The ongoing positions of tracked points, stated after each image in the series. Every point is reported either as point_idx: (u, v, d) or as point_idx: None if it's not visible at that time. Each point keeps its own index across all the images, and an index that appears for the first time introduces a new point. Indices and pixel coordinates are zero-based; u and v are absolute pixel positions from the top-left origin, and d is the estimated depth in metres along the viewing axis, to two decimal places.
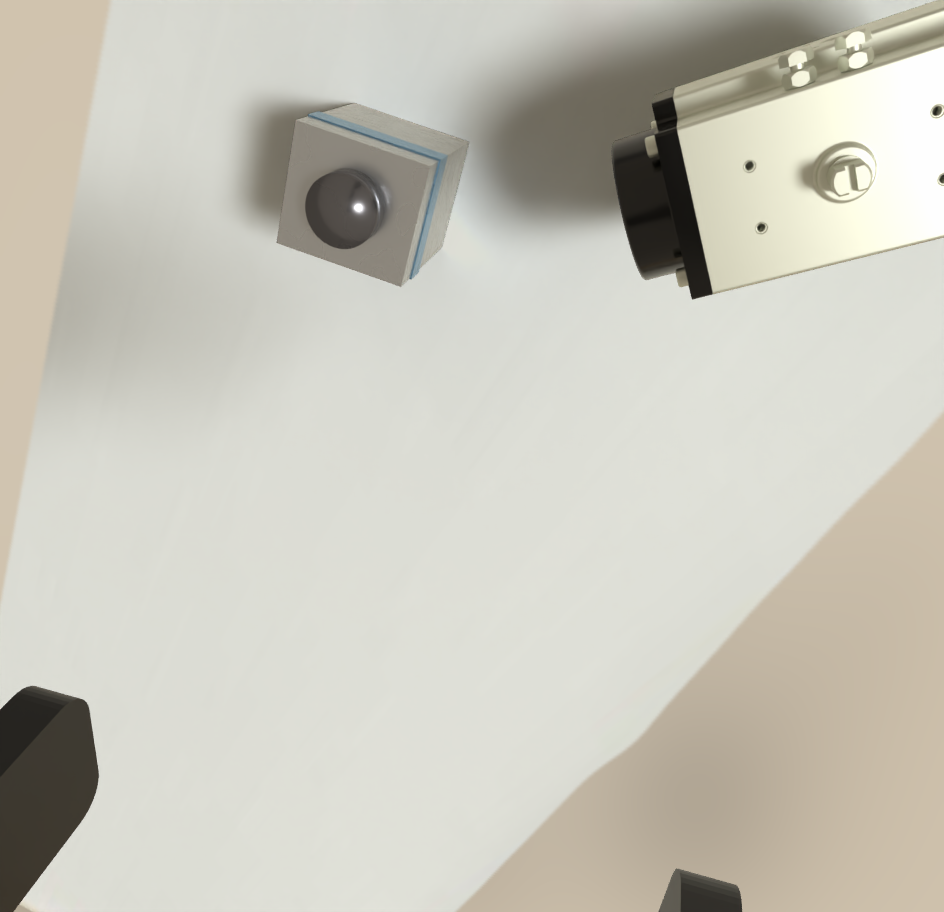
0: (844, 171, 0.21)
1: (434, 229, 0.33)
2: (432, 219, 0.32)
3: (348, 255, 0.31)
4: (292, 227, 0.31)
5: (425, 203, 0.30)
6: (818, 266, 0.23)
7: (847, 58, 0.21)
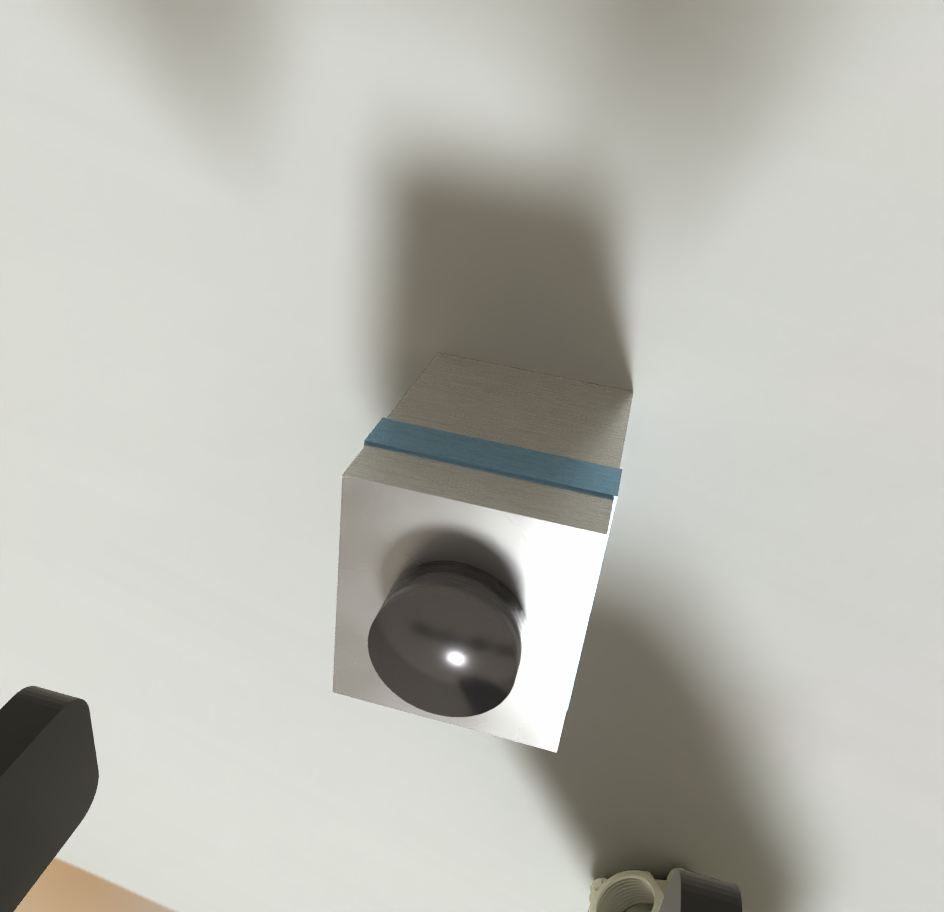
0: None
1: None
2: None
3: (361, 611, 0.15)
4: (384, 510, 0.14)
5: None
6: None
7: None
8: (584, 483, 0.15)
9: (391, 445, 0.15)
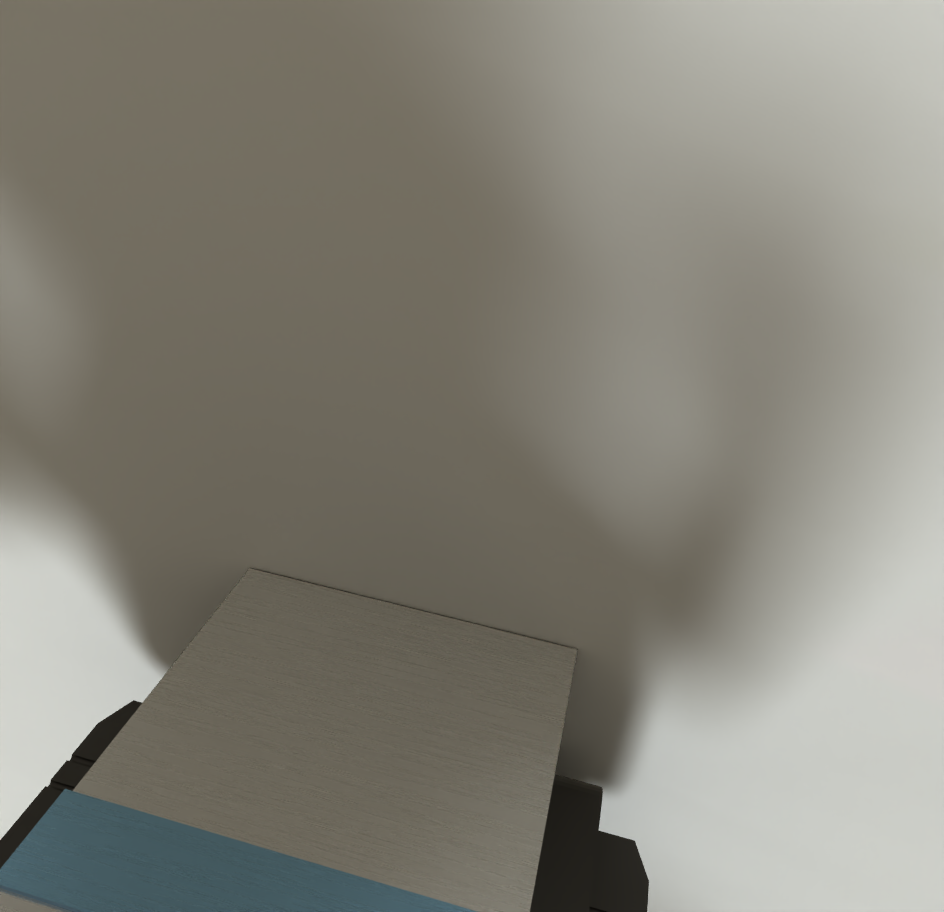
0: None
1: None
2: None
3: None
4: None
5: None
6: None
7: None
8: None
9: (46, 892, 0.07)
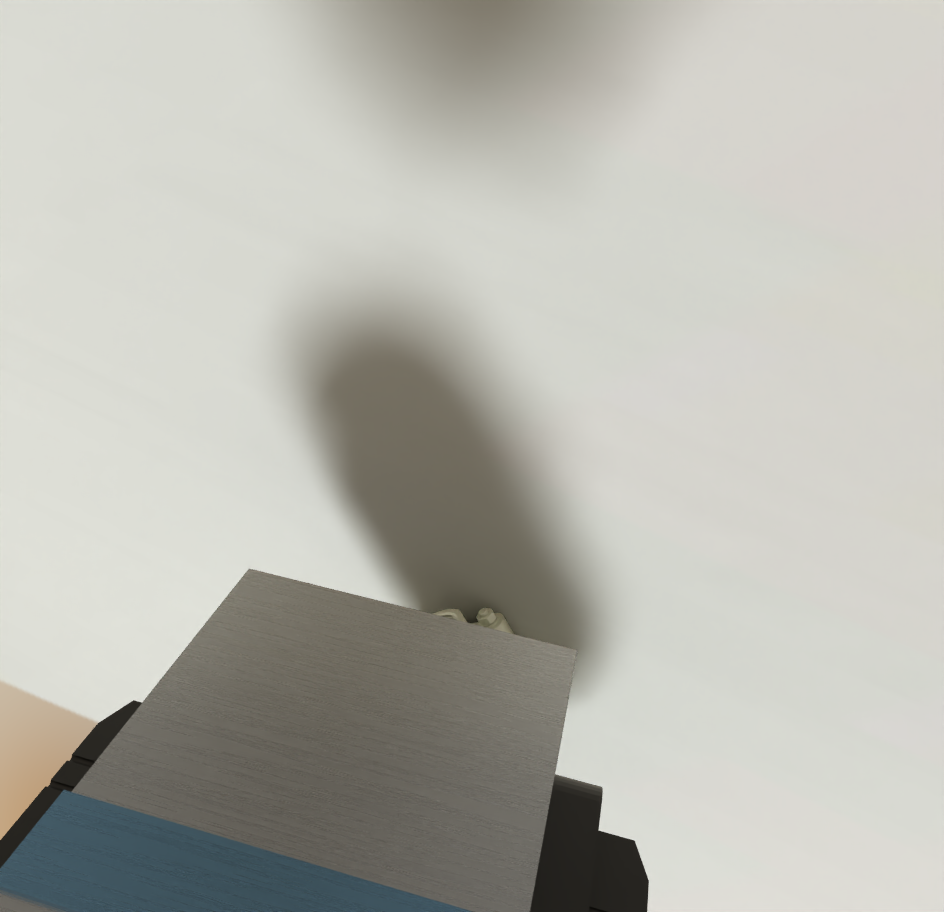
0: None
1: None
2: None
3: None
4: None
5: None
6: None
7: None
8: None
9: (45, 893, 0.07)
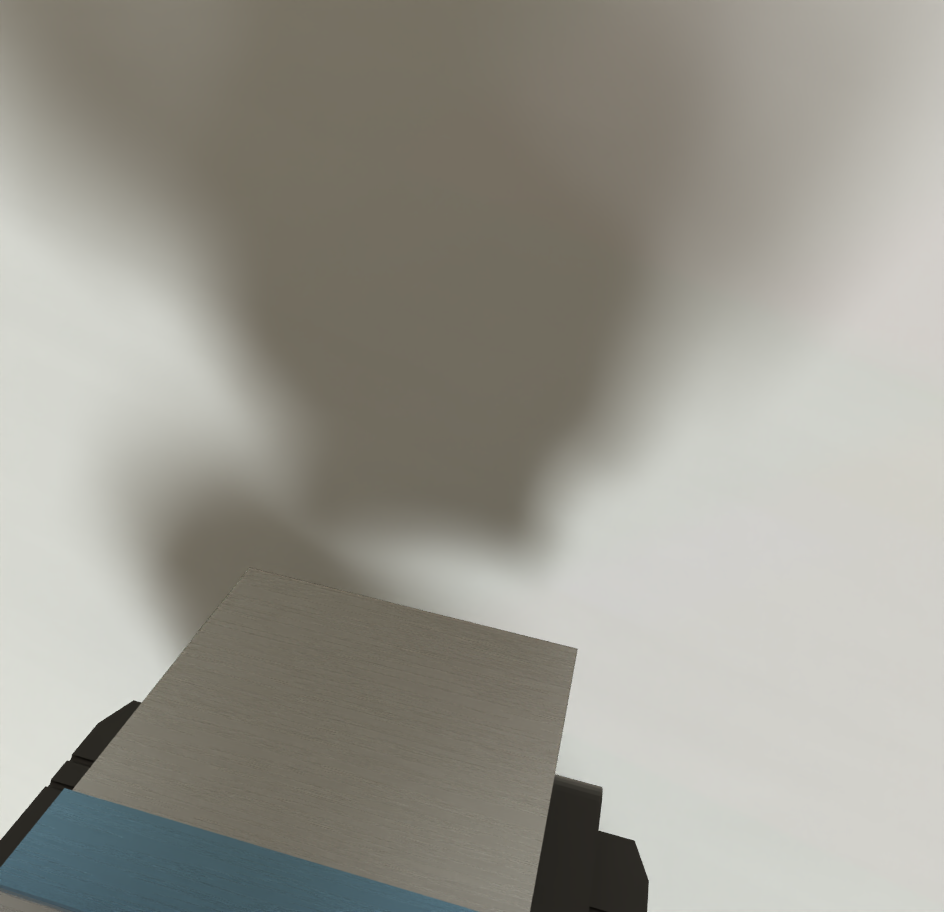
0: None
1: None
2: None
3: None
4: None
5: None
6: None
7: None
8: None
9: (46, 891, 0.07)
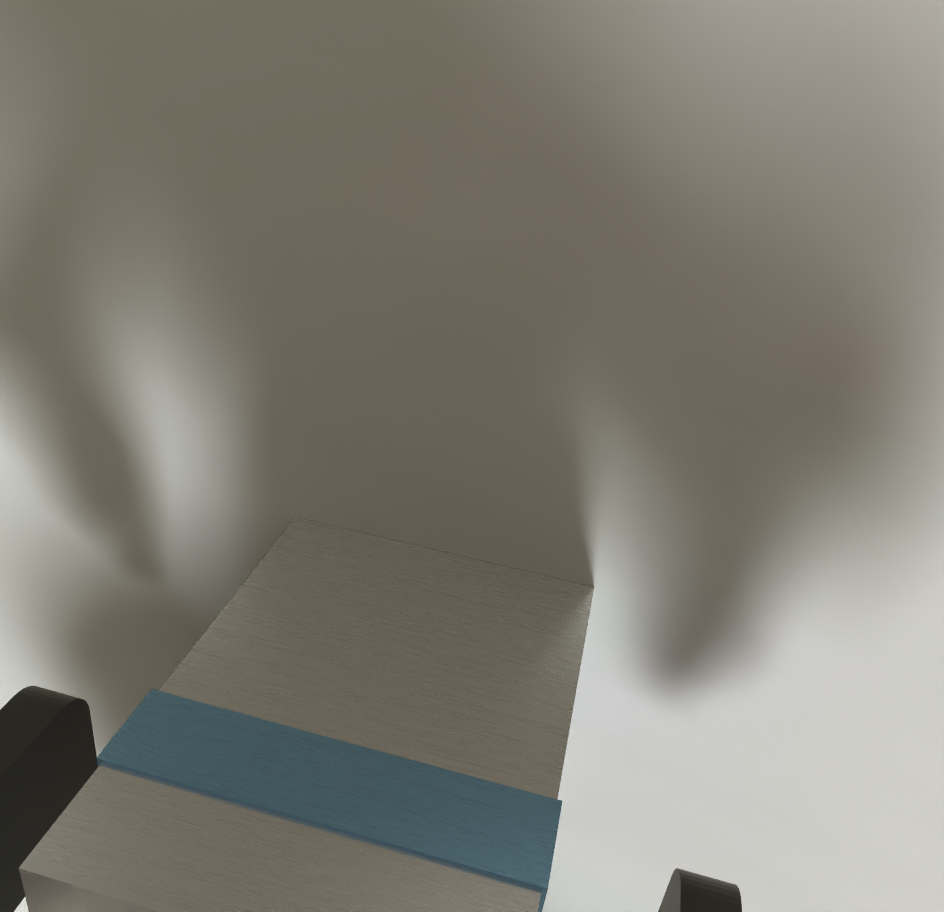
0: None
1: None
2: None
3: None
4: None
5: None
6: None
7: None
8: (489, 850, 0.08)
9: (144, 767, 0.08)
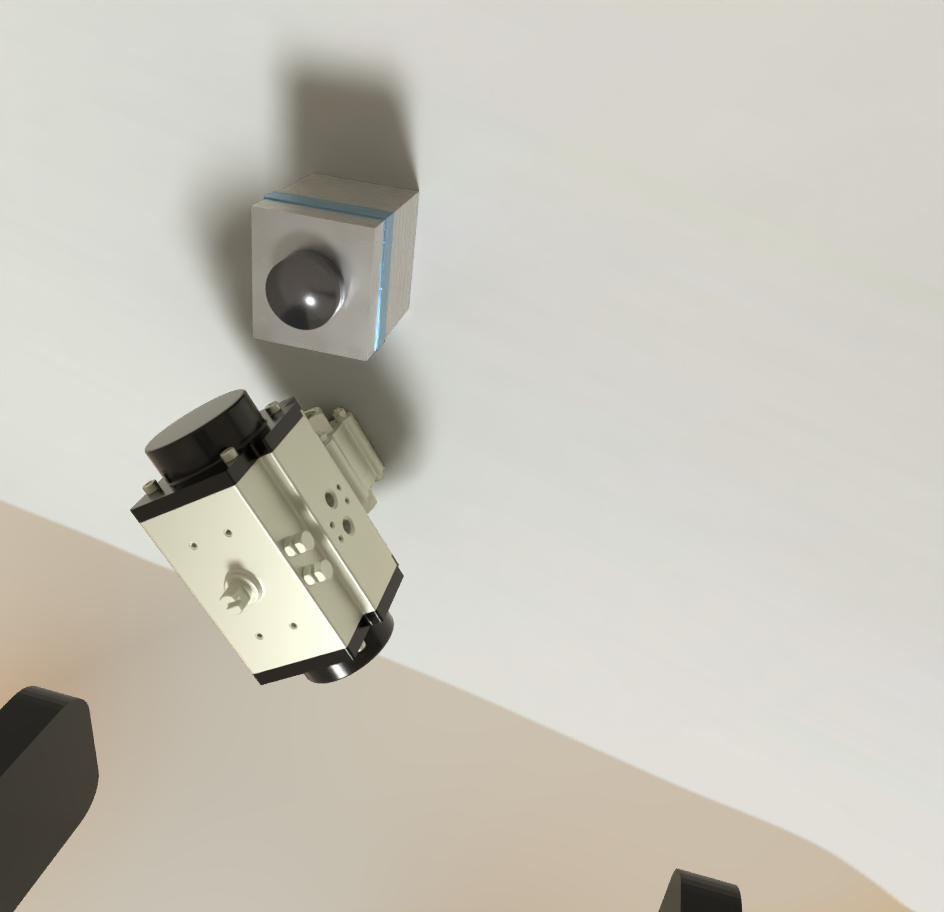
0: (234, 600, 0.30)
1: None
2: None
3: (264, 285, 0.31)
4: (272, 224, 0.29)
5: None
6: (184, 582, 0.32)
7: (309, 573, 0.31)
8: (372, 214, 0.30)
9: (277, 199, 0.30)
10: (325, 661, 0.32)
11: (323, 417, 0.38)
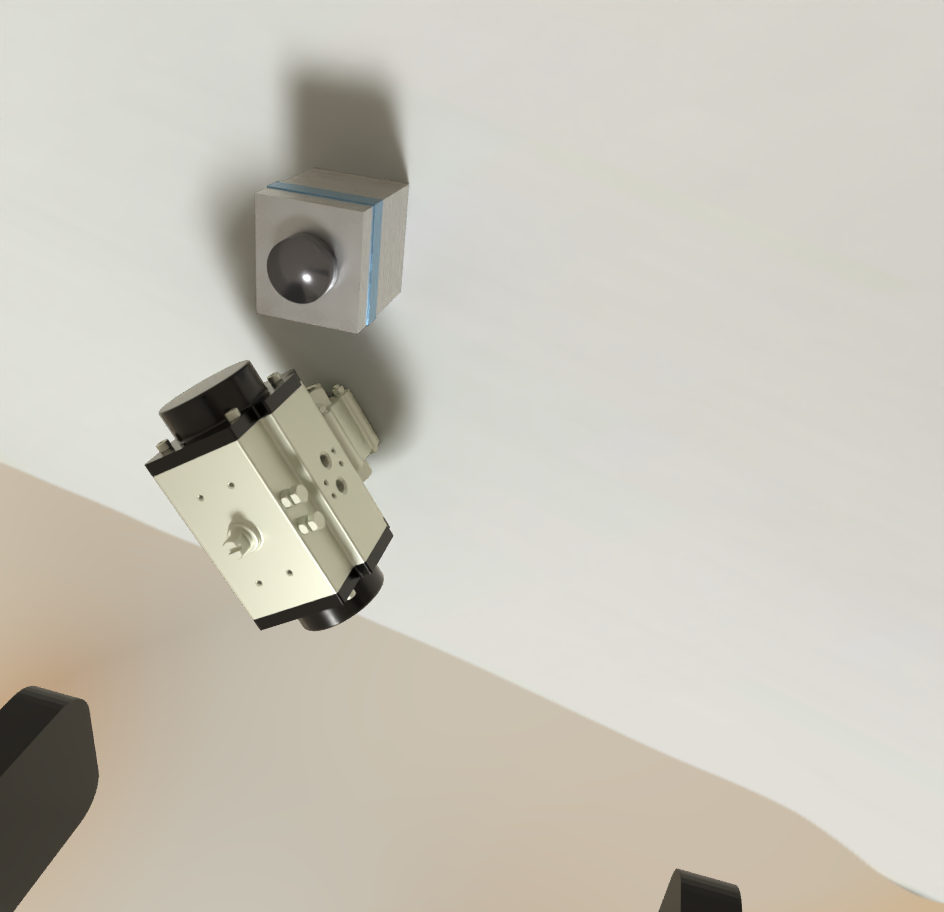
0: (235, 546, 0.34)
1: None
2: None
3: (266, 264, 0.34)
4: (273, 209, 0.33)
5: None
6: (192, 532, 0.35)
7: (303, 523, 0.34)
8: (362, 201, 0.34)
9: (279, 187, 0.34)
10: (318, 606, 0.36)
11: (323, 392, 0.41)
